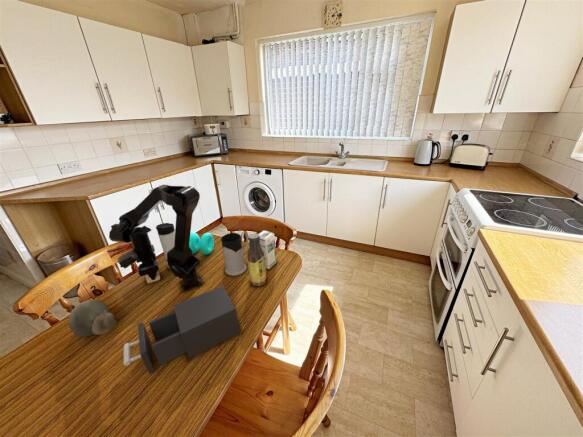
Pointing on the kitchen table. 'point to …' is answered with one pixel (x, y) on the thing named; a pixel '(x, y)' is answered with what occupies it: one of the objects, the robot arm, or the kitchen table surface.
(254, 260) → the sauce bottle
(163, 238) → the travel mug
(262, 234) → the syrup box
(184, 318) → the dark grey box
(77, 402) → the kitchen table surface
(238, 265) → the grey black mug
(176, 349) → the open drawer
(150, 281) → the block
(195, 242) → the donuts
